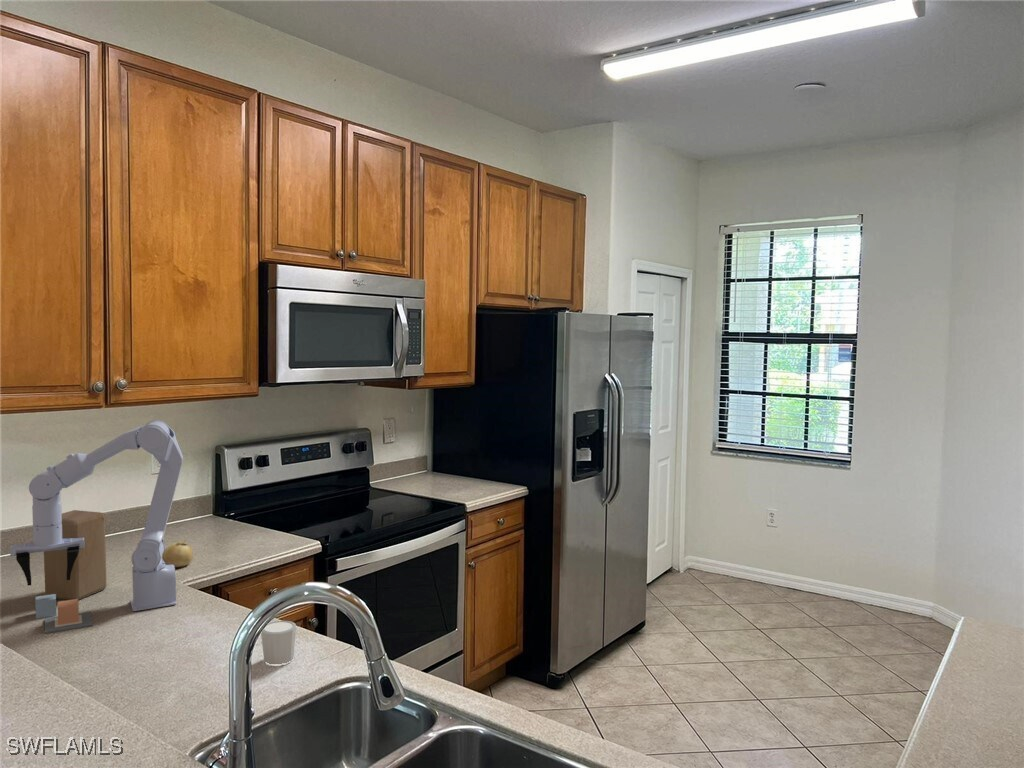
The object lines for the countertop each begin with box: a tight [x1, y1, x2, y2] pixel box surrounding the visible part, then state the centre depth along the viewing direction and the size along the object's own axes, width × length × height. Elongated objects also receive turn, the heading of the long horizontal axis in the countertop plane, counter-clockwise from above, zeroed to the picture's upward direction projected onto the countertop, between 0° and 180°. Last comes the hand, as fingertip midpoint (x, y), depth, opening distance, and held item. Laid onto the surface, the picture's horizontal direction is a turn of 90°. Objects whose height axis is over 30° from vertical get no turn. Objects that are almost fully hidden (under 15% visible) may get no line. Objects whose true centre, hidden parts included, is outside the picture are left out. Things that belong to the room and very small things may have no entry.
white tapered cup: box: [260, 620, 297, 664], centre depth 151 cm, size 7×7×7 cm
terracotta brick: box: [57, 599, 80, 625], centre depth 170 cm, size 4×4×4 cm
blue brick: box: [34, 594, 57, 620], centre depth 174 cm, size 4×4×4 cm
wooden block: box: [43, 509, 108, 601], centre depth 188 cm, size 10×10×20 cm
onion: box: [161, 539, 194, 568], centre depth 211 cm, size 8×8×7 cm
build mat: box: [44, 610, 93, 634], centre depth 170 cm, size 9×9×1 cm
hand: (49, 581), depth 174 cm, fingers open, 7 cm apart
